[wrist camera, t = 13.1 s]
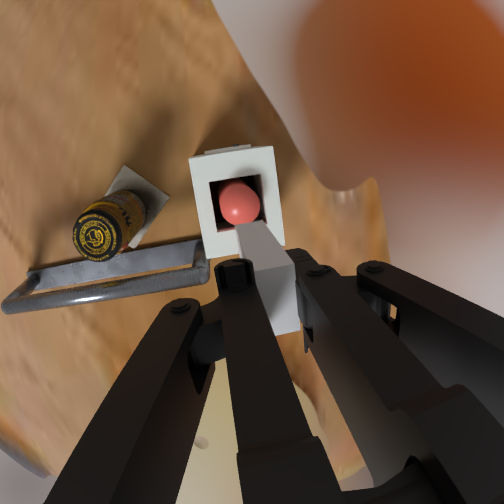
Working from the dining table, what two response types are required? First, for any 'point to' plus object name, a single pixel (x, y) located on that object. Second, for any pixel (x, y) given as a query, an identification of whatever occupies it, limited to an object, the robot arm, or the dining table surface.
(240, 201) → the plunger
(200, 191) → the cabinet
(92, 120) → the dining table surface
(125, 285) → the handrail
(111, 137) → the dining table surface
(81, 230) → the condiment
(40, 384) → the dining table surface
